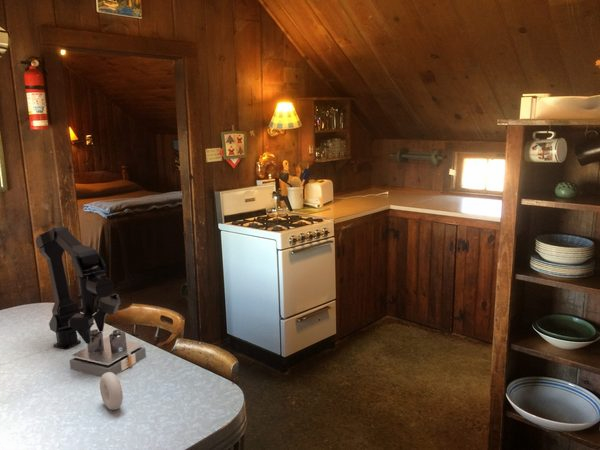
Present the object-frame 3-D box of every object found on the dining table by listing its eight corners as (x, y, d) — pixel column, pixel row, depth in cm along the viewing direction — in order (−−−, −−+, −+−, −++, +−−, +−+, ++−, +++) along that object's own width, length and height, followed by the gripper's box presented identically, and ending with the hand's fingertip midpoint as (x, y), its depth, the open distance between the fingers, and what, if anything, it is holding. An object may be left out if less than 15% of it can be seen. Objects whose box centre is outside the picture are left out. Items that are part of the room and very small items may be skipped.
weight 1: (84, 351, 164) (82, 332, 163) (96, 345, 168) (94, 327, 167) (95, 353, 162) (93, 334, 161) (107, 347, 167) (105, 329, 165)
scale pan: (72, 366, 162) (71, 355, 162) (108, 347, 176) (107, 336, 175) (113, 376, 155) (112, 364, 155) (147, 355, 169) (146, 344, 168)
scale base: (70, 369, 162) (69, 359, 162) (108, 348, 176) (107, 339, 176) (110, 378, 155) (109, 368, 155) (146, 356, 170) (146, 347, 169)
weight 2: (107, 350, 164) (105, 332, 163) (120, 345, 168) (117, 326, 167) (118, 353, 162) (115, 334, 160) (130, 347, 166) (128, 329, 164)
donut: (126, 413, 137) (123, 378, 135) (113, 418, 135) (110, 382, 133) (112, 398, 144) (108, 365, 142) (99, 402, 142) (95, 369, 140)
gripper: (101, 300, 152) (107, 350, 155) (126, 280, 170) (130, 325, 173) (64, 300, 153) (70, 350, 156) (93, 280, 171) (98, 325, 174)
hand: (94, 337), depth 165 cm, fingers open, 9 cm apart
